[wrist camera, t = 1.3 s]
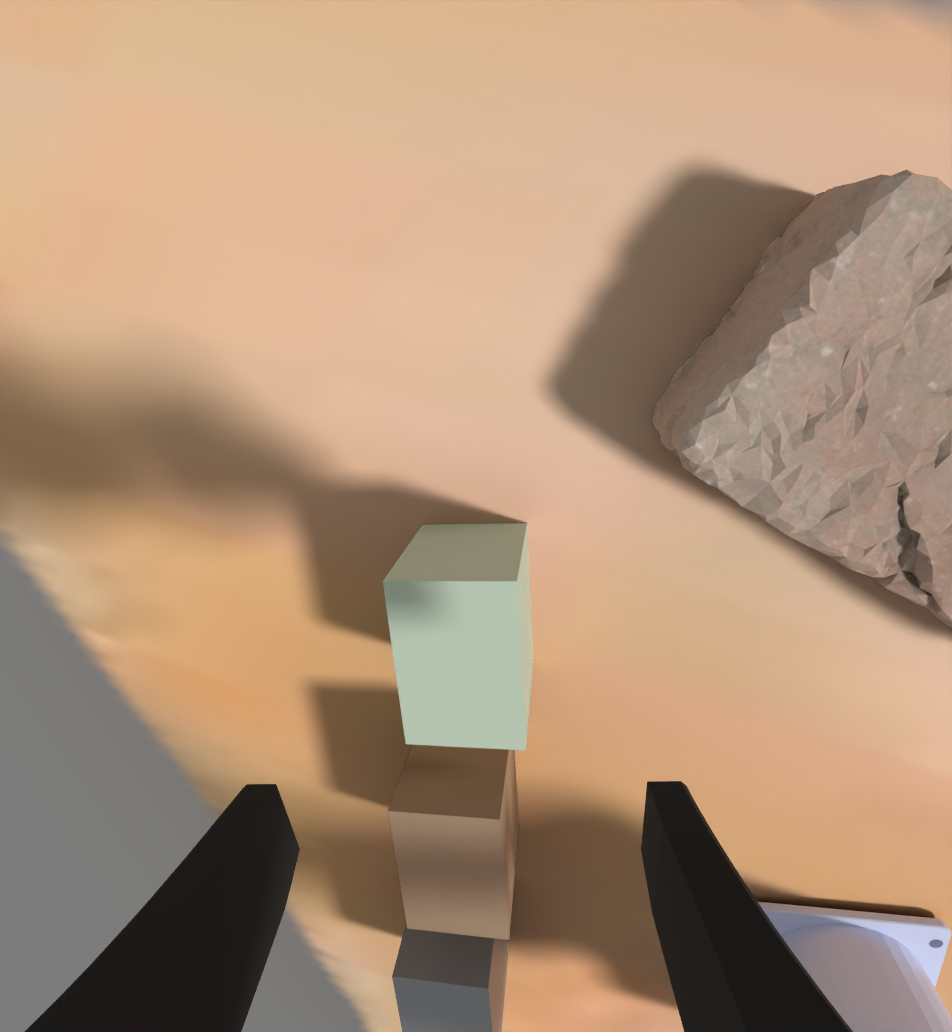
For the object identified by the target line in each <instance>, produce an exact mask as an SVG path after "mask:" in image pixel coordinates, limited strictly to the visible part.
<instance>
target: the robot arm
mask: <svg viewBox="0 0 952 1032" xmlns="http://www.w3.org/2000/svg"><path fill="white" fill-rule="evenodd" d="M299 849H300V848H299V846H298V843H297V840H296V837H295V835H294V832H293V829H292V827H291V824H290V821H289V818H288V816H287V813H286V810H285V807H284V805H283V802H282V799H281V796H280V794H279V791H278V788H277V785H276V784H250V785H246V786H245V787H244V788H243V789H242V790H241V791H240V793H239V794H238V795H237V796H236V797H235V799H234V800H233V801H232V802H231V803H230V805H229V806H228V807H227V808H226V809H225V811H224V812H223V813H222V814H221V816H220V817H219V818H218V819H217V820H216V822H215V823H214V824H213V825H212V826H211V828H210V829H209V830H208V831H207V833H206V834H205V835H204V836H203V837H202V839H201V840H200V841H199V842H198V843H197V845H196V846H195V847H194V848H193V849H192V851H191V852H190V853H189V854H188V855H187V857H186V858H185V859H184V860H183V861H182V863H181V864H180V865H179V866H178V867H177V868H176V870H175V871H174V872H173V873H172V874H171V875H170V877H169V878H168V879H167V880H166V881H165V882H164V884H163V885H162V886H161V887H160V888H159V889H158V890H157V892H156V893H155V894H154V895H153V896H152V898H151V899H150V900H149V901H148V902H147V903H146V904H145V906H144V907H143V908H142V909H141V910H140V911H139V912H138V913H137V915H136V916H135V917H134V918H133V919H132V920H131V921H130V922H129V923H128V924H127V926H126V927H125V928H124V929H123V930H122V931H121V932H120V933H119V934H118V936H117V937H116V938H115V939H114V940H113V941H112V942H111V943H110V944H109V945H108V946H107V947H106V948H105V950H104V951H103V952H102V953H101V954H100V955H99V956H98V957H97V958H96V959H95V961H94V962H93V963H92V964H91V965H90V966H89V967H88V968H87V969H86V970H85V971H84V972H83V973H82V974H81V975H80V976H79V977H78V978H77V979H76V980H75V981H74V983H73V984H72V985H71V986H70V987H69V988H68V989H67V990H66V991H65V992H64V993H63V994H62V995H61V996H60V997H59V998H58V999H57V1000H56V1001H55V1002H54V1003H53V1004H52V1005H51V1006H50V1007H49V1008H48V1009H47V1010H46V1011H45V1012H44V1013H43V1014H42V1015H41V1016H40V1017H39V1018H38V1019H37V1020H36V1021H35V1022H34V1023H33V1024H32V1025H31V1026H30V1027H29V1028H28V1029H27V1030H26V1031H25V1032H241V1031H242V1028H243V1025H244V1022H245V1019H246V1016H247V1014H248V1011H249V1008H250V1006H251V1003H252V1000H253V997H254V994H255V992H256V989H257V986H258V983H259V981H260V978H261V975H262V972H263V970H264V967H265V964H266V961H267V958H268V955H269V953H270V950H271V947H272V944H273V941H274V938H275V935H276V933H277V930H278V927H279V924H280V921H281V918H282V916H283V913H284V910H285V906H286V902H287V898H288V895H289V891H290V887H291V883H292V879H293V875H294V870H295V866H296V862H297V858H298V853H299ZM641 852H642V857H643V863H644V869H645V875H646V880H647V886H648V891H649V897H650V902H651V908H652V913H653V917H654V921H655V925H656V928H657V932H658V936H659V940H660V943H661V947H662V951H663V955H664V958H665V962H666V966H667V969H668V973H669V977H670V980H671V984H672V988H673V991H674V995H675V999H676V1003H677V1006H678V1010H679V1014H680V1017H681V1021H682V1025H683V1028H684V1032H952V1018H951V1016H950V1014H949V1013H948V1011H947V1009H946V1007H945V1006H944V1004H943V1002H942V1000H941V998H940V997H939V995H938V993H937V991H936V990H935V986H936V983H937V979H938V976H939V973H940V970H941V966H942V963H943V960H944V957H945V953H946V950H947V947H948V944H949V941H950V937H951V932H950V930H949V928H948V927H947V925H946V924H945V922H943V921H942V920H940V919H936V918H927V917H916V916H906V915H895V914H884V913H874V912H863V911H853V910H842V909H831V908H821V907H810V906H799V905H789V904H778V903H768V902H757V900H756V899H755V897H754V896H753V894H752V893H751V891H750V890H749V888H748V887H747V885H746V884H745V882H744V881H743V879H742V878H741V876H740V875H739V873H738V872H737V870H736V869H735V867H734V866H733V864H732V862H731V861H730V859H729V858H728V856H727V854H726V853H725V851H724V850H723V848H722V846H721V845H720V843H719V842H718V840H717V838H716V837H715V835H714V834H713V832H712V830H711V829H710V827H709V825H708V824H707V822H706V820H705V818H704V817H703V815H702V813H701V812H700V810H699V808H698V806H697V805H696V803H695V801H694V799H693V797H692V796H691V794H690V792H689V790H688V788H687V786H686V785H685V784H683V783H682V782H681V781H669V782H647V791H646V802H645V813H644V824H643V835H642V846H641Z"/></svg>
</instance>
